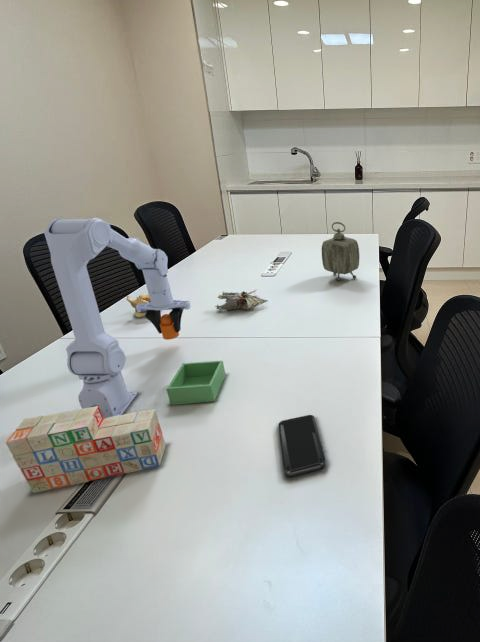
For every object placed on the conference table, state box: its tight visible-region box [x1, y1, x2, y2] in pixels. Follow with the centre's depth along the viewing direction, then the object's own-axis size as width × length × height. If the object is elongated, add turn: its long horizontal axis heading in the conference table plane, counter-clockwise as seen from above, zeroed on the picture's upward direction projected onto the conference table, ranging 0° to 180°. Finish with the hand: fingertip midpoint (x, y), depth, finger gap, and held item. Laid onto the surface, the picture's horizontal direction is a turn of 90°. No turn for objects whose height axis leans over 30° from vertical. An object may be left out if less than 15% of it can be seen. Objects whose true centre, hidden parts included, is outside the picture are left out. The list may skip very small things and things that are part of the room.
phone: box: [278, 414, 327, 478], centre depth 79 cm, size 8×1×15 cm
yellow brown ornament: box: [126, 292, 151, 319], centre depth 140 cm, size 12×10×8 cm
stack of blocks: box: [5, 406, 166, 494], centre depth 73 cm, size 21×6×12 cm, turn 105°
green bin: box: [166, 360, 227, 406], centre depth 97 cm, size 11×10×5 cm
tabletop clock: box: [321, 221, 360, 281], centre depth 165 cm, size 14×9×25 cm, turn 58°
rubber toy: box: [160, 313, 180, 341], centre depth 116 cm, size 4×4×7 cm
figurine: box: [214, 288, 269, 311], centre depth 143 cm, size 20×6×17 cm
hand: (170, 331), depth 117 cm, fingers closed on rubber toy, 4 cm apart
